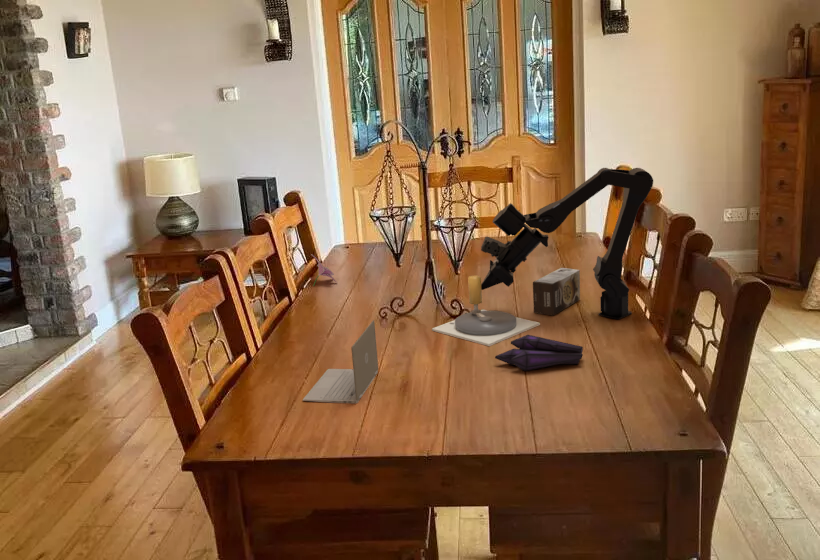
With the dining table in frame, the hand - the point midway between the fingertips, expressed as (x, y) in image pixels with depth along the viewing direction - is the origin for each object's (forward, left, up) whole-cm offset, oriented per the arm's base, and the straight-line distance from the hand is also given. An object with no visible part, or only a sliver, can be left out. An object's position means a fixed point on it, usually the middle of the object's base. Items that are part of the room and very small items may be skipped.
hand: (480, 288), depth 221 cm
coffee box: (-8, -29, -4) cm, 30 cm away
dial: (-5, +4, -9) cm, 11 cm away
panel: (-5, +4, -9) cm, 11 cm away
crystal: (-32, +17, -9) cm, 37 cm away
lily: (+68, +2, -9) cm, 68 cm away
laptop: (-6, +53, -9) cm, 54 cm away
